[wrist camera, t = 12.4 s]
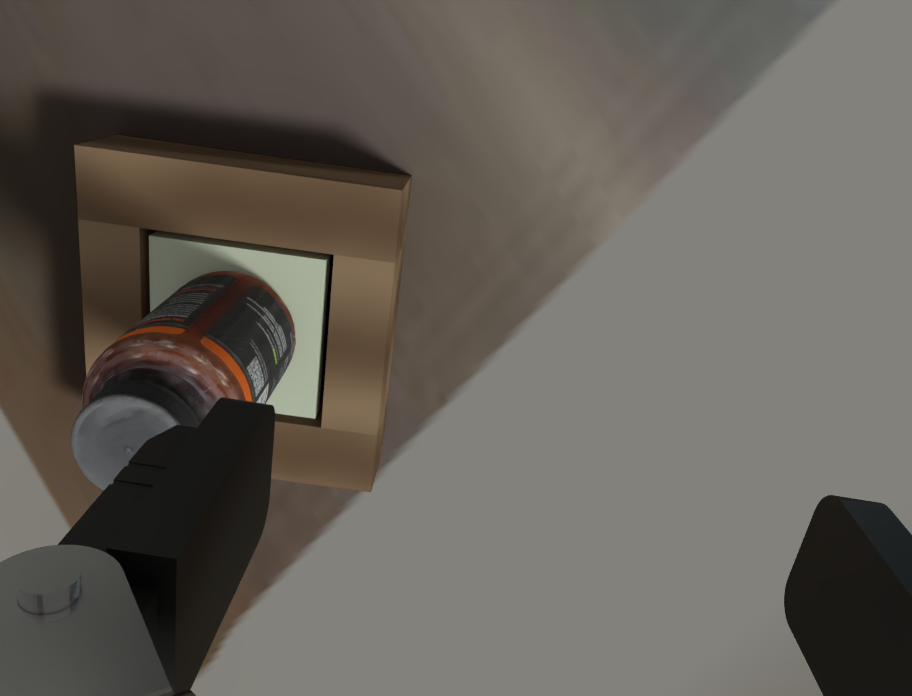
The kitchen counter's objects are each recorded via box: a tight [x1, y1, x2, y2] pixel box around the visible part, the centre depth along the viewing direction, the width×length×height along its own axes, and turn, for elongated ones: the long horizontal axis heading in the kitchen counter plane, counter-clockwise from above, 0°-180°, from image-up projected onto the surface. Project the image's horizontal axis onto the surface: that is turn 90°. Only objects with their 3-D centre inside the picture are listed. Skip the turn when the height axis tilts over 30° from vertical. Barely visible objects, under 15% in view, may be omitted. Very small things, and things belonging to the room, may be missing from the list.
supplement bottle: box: [71, 271, 296, 490], centre depth 30 cm, size 6×6×11 cm
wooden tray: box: [74, 135, 412, 492], centre depth 37 cm, size 15×14×4 cm
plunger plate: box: [149, 231, 330, 419], centre depth 36 cm, size 8×8×1 cm
